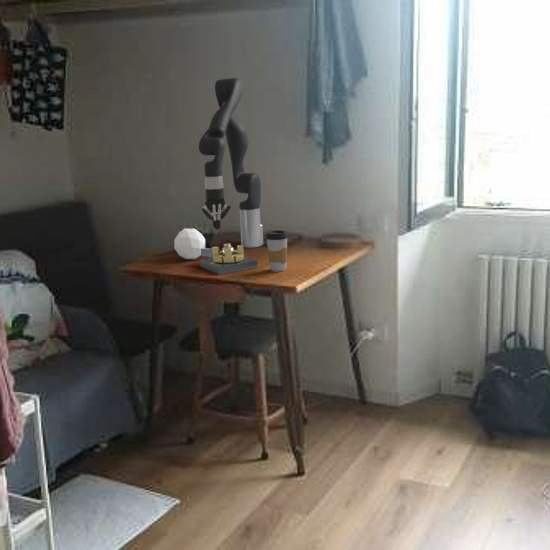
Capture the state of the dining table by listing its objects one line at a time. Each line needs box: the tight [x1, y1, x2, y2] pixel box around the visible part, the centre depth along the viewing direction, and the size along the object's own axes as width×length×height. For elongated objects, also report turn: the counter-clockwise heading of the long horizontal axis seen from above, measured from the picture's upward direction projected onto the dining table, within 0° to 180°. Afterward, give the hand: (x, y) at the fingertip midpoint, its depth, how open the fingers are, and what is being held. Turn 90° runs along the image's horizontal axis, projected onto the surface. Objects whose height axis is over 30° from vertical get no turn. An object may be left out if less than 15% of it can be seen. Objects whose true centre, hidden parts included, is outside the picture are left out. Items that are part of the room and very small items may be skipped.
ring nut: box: [200, 243, 245, 263], centre depth 293 cm, size 21×12×5 cm, turn 51°
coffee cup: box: [265, 229, 288, 273], centre depth 282 cm, size 8×8×15 cm
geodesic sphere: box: [173, 227, 206, 260], centre depth 310 cm, size 14×14×14 cm
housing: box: [200, 246, 259, 275], centre depth 291 cm, size 17×17×8 cm
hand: (216, 229), depth 300 cm, fingers closed
